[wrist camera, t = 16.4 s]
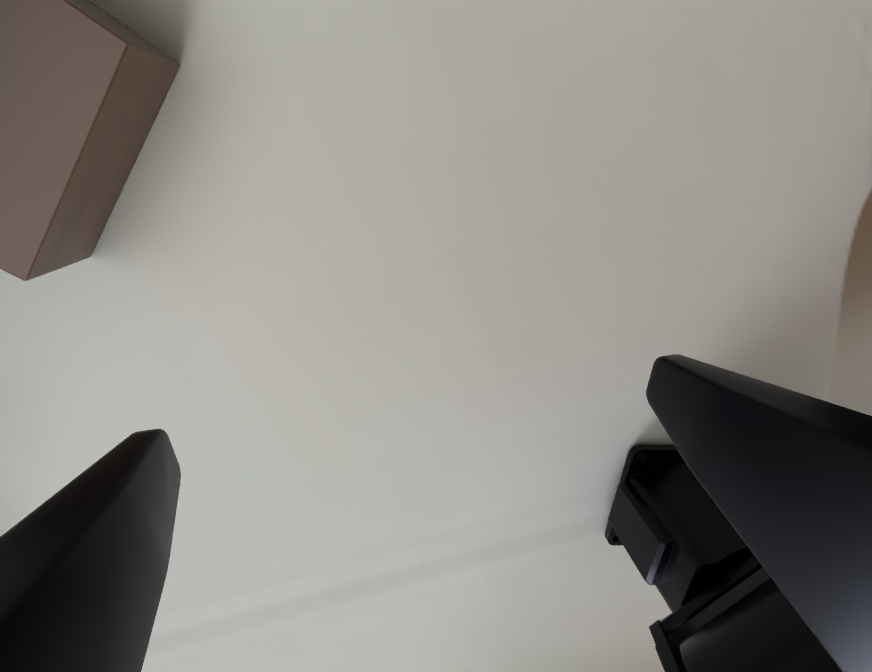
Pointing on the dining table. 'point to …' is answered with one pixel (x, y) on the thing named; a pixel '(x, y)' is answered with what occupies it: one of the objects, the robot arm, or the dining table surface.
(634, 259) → the dining table surface
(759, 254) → the dining table surface
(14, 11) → the walnut base
